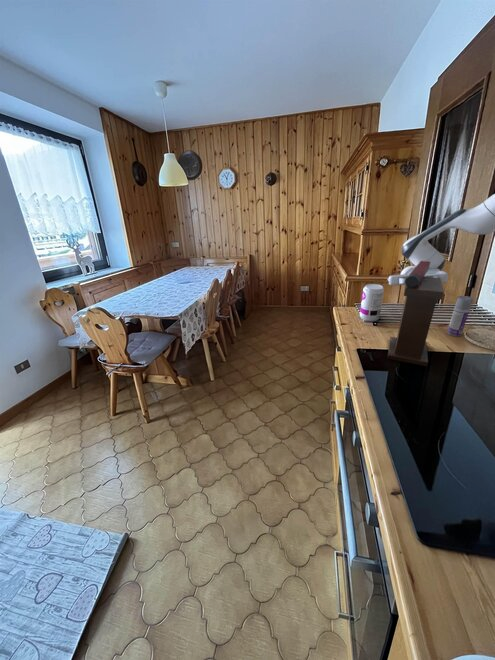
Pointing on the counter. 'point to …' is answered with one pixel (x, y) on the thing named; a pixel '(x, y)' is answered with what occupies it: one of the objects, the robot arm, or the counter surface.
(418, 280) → the maroon rod
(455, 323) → the container
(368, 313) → the supplement can
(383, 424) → the counter surface
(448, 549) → the counter surface
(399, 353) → the shelf stand
